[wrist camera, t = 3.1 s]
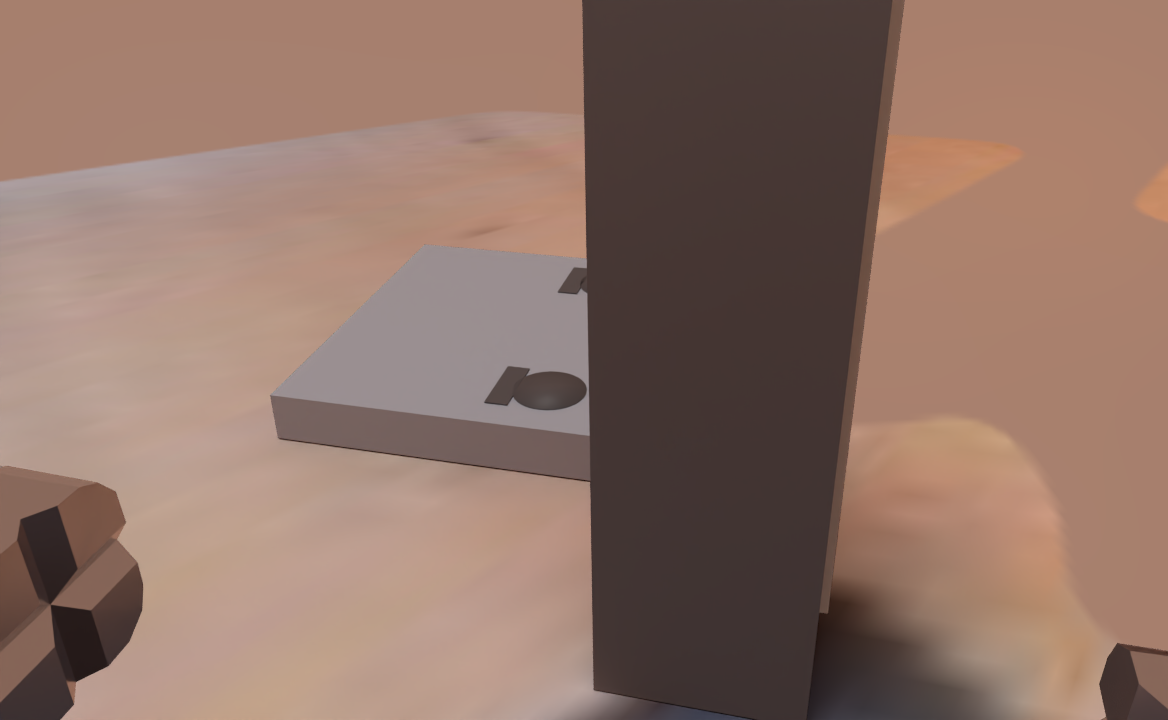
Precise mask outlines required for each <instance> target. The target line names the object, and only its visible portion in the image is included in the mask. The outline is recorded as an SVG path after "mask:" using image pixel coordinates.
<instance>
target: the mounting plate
mask: <svg viewBox="0 0 1168 720" xmlns="http://www.w3.org/2000/svg"><path fill="white" fill-rule="evenodd" d="M270 397H271V402H272V408H273V413H274V419H275V424H276V429H277V435H278V438H283V439H290V440H297V441H304V442H312V443H319V444H326V445H334V446H341V447H348V448H355V449H363V450H370V451H377V452H385V453H392V454H399V455H406V456H414V457H421V458H428V459H435V460H443V461H450V462H457V463H465V464H472V465H479V466H486V467H494V468H501V469H508V470H515V471H523V472H530V473H537V474H545V475H552V476H559V477H566V478H574V479H581V480H588V481H590V430H589V369H588V309H587V259H585V258H574V257H563V256H551V255H540V254H528V253H517V252H505V251H494V250H482V249H471V248H459V247H448V246H436V245H424V246H423V247H422V248H421V249H420V250H419V251H418V252H417V253H416V254H415V255H414V256H413V257H412V258H410V259H409V260H408V261H407V262H406V263H405V264H404V265H403V266H402V267H401V268H400V269H399V270H398V271H397V272H396V273H395V274H394V275H393V276H392V277H391V278H390V279H389V280H388V281H387V282H386V283H385V284H384V285H383V286H382V287H381V288H380V289H379V290H378V291H377V292H376V293H375V294H374V295H373V296H371V297H370V298H369V299H368V300H367V301H366V302H365V303H364V304H363V305H362V306H361V307H360V308H359V309H358V310H357V311H356V312H355V313H354V314H353V315H352V316H351V317H350V318H349V319H348V320H347V321H346V322H345V323H344V324H343V325H342V326H341V327H340V328H339V329H338V330H337V331H336V332H335V333H333V334H332V335H331V336H330V337H329V338H328V339H327V340H326V341H325V342H324V343H323V344H322V345H321V346H320V347H319V348H318V349H317V350H316V351H315V352H314V353H313V354H312V355H311V356H310V357H309V358H308V359H307V360H306V361H305V362H304V363H303V364H302V365H301V366H300V367H299V368H298V369H297V370H295V371H294V372H293V373H292V374H291V375H290V376H289V377H288V378H287V379H286V380H285V381H284V382H283V383H282V384H281V385H280V386H279V387H278V388H277V389H276V390H275V391H274V392H273V393H272V394H271V395H270Z"/></svg>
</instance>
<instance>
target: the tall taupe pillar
mask: <svg viewBox="0 0 1168 720" xmlns="http://www.w3.org/2000/svg"><path fill="white" fill-rule="evenodd" d="M904 1H905V0H582V3H583V4H582V6H583V66H584V127H585V188H586V248H587V309H588V369H589V430H590V490H591V551H592V612H593V672H594V690H599V691H605V692H610V693H616V694H621V695H626V696H632V697H637V698H643V699H648V700H653V701H659V702H664V703H670V704H675V705H681V706H686V707H691V708H697V709H702V710H708V711H713V712H719V713H724V714H729V715H735V716H740V717H746V718H751V719H756V720H806V719H807V711H808V702H809V694H810V686H811V677H812V669H813V661H814V652H815V644H816V636H817V627H818V619H819V612H820V613H826V614H828V609H829V601H830V593H831V585H832V577H833V569H834V561H835V553H836V545H837V537H838V529H839V521H840V513H841V505H842V497H843V489H844V481H845V473H846V465H847V457H848V449H849V441H850V433H851V425H852V417H853V408H854V401H855V392H856V384H857V377H858V368H859V361H860V353H861V344H862V336H863V329H864V320H865V313H866V305H867V297H868V289H869V281H870V273H871V264H872V257H873V248H874V241H875V233H876V225H877V217H878V209H879V201H880V193H881V185H882V177H883V169H884V161H885V153H886V145H887V137H888V129H889V121H890V113H891V105H892V96H893V88H894V80H895V73H896V65H897V57H898V49H899V41H900V33H901V24H902V17H903V9H904Z"/></svg>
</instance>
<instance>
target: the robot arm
mask: <svg viewBox="0 0 1168 720" xmlns="http://www.w3.org/2000/svg"><path fill="white" fill-rule="evenodd" d="M125 523H126V521H125V518H124V515H123V512H122V509H121V506H120V503H119V500H118V497H117V494H116V492H115V491H113V490H111V489H109V488H107V487H105V486H103V485H101V484H99V483H97V482H92V481H86V480H81V479H75V478H70V477H65V476H59V475H54V474H48V473H43V472H37V471H32V470H27V469H21V468H16V467H10V466H4V467H2V466H0V720H60V719H61V718H62V717H63V716H64V715H65V714H66V713H67V712H68V710H69V709H70V708H71V707H72V706H73V705H74V699H75V688H76V682H77V681H79V680H81V679H83V678H85V677H87V676H89V675H91V674H93V673H95V672H97V671H99V670H101V669H103V668H105V667H107V666H109V665H110V664H111V662H112V661H113V660H114V659H115V658H116V657H117V655H118V654H119V653H120V652H121V651H122V650H123V648H124V647H125V646H126V645H127V644H128V643H129V641H130V639H131V636H132V634H133V631H134V629H135V626H136V624H137V622H138V619H139V617H140V614H141V612H142V602H143V582H142V578H141V574H140V571H139V567H138V563H137V562H136V560H135V559H134V558H133V557H132V556H131V555H130V554H129V553H128V551H127V550H126V549H125V548H124V547H123V546H122V545H121V544H120V543H119V541H118V540H117V538H118V537H119V535H120V533H121V531H122V529H123V527H124V525H125ZM1099 685H1100V690H1101V694H1102V699H1103V704H1104V708H1105V713H1106V717H1105V718H1103V719H1102V720H1168V651H1166V650H1159V649H1153V648H1146V647H1139V646H1133V645H1127V644H1120V643H1117V645H1116V646H1115V648H1114V649H1113V651H1112V652H1111V654H1110V655H1109V656H1108V658H1107V662H1106V665H1105V668H1104V671H1103V674H1102V677H1101V680H1100V683H1099Z"/></svg>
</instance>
